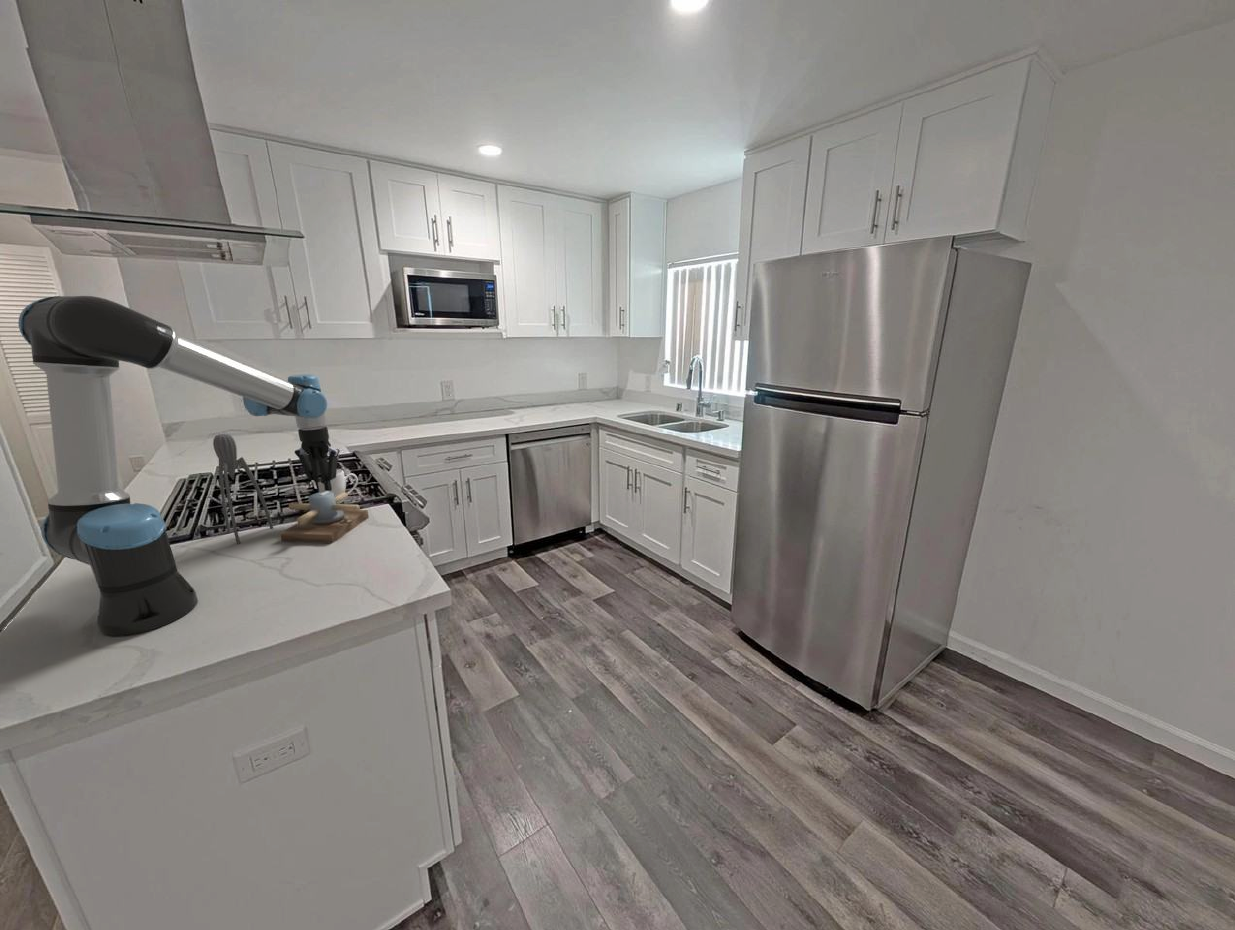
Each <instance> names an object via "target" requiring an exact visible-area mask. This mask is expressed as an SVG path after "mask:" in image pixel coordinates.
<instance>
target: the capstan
mask: <svg viewBox="0 0 1235 930" xmlns="http://www.w3.org/2000/svg"><path fill="white" fill-rule="evenodd" d="M347 493H348V492H346V491H345V492H343V493H341V494H339V495H337V496H336V497H334V493H333V492H329V491H325V492H320V493H319V492H316V493H313V494H311V495H309V496H308V497H307V498H308V502H309V503H304V502H303V503H299V502H298V503H296V502H295V503H294V502H291V503H289V504H288V508H289V510H301V511H302V510H304V511H305V510H306V511H307V510H309V511H307V512H306V513H304V514H302V515H300V516H298V517H297V518H296V523H300V524H301V523H303V522H305V521H307V520H308V519H310V518H311V521H312V523H313V524H318V525H322V524H330V523H334V522H337V521H339V520H341V519H343V518H344V512H343V511H358V510H361V509H360V508H361V507H360V505H359V504H346V503H345V504H344V503H342V504H336V503H337V502H339V501H341V500H342V499H343V500H344V499H346V498H348V495H347Z"/></svg>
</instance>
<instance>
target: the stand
mask: <svg viewBox="0 0 1235 930" xmlns="http://www.w3.org/2000/svg"><path fill="white" fill-rule="evenodd" d="M343 512H344V518H343V519H341V520H339V521H337V522H334V523H330V524H322V525H318V524H313V523H312V521H311V518H310V519H308V520H307V521H305V522H303V523H301V524H300V523H298V522H296V523H295V524H293V525H292V526H290V527H288V528H287V529H285V530H283V531H282V532H280V533H279V536H280V540H281V542H285V543H286V542H287V543H288V542H291V543H293V542H294V543H318V544H319V543H323V544H325V543H327V544H333V543H335V542H336V541H338V540H340V539H341V538H342V537H344V535H346V534H347V533H349V532H350V531H352V530H353V529H354V528H356V527H357V526H359V525H360V524H362V523H363V522H364V521H365V522H366V520H367V519H369V511H368V509H359V510H358V511H343Z"/></svg>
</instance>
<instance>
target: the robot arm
mask: <svg viewBox="0 0 1235 930" xmlns="http://www.w3.org/2000/svg"><path fill="white" fill-rule="evenodd" d="M18 329H19V332H20V334H21V336H22V337H23V339H24V340H25V341H26V342H27V343H28V344H29V345H30V348H31V349H30V350H31V356H32V364H33V365H34V366H36V367H37V368H39V369H40V370H42V371H43V372H44V373H45V376H46V383H47V385H46V386H47V394H48V395H47V396H48V404H49V412H50V415H49V416H50V422H51V423H50V424H51V433H52V443H53V452H54V459H55V460H54V461H55V463H54V464H55V472H56V481H57V493H56V494H54V495H53V496H52V497H51V498H49V499H48V501H47V507H48V515H47V516H45V518H44V520H43V521H42V525H41V531H40V532H41V537H42V540H43V542H44V543H45V544H46V546H48V547H49V548H50V549H51V550H52V551H53V552H55V553H56V554H58V555H59V556H62V557H65V558H66V559H71V560H75V561H78V562H81V563H84V564H86V565H88V566H90V569H91V570H92V573H93V577H94V578H95V582H96V584H97V587H98V589H99V593H100V596H99V605H98V615H97V619H96V623H97V626H98V628H99V629H98V630H99V632H100V633H101V634H102V635H104V636H109V637H123V636H131V635H132V636H133V635H136V634H140V633H144V632H149V631H151V630H152V631H153V630H154V629H157V628H158V629H159V628H160V627H163V626H165V625H168V624H169V623H172V622H174V621H176V620H178V619H180V618H182V617H184V616H185V615H187V614H188V613H190V612H191V611H192V610H194V608H195V607H197V604H198V601H199V600H198V596H197V593H196V589H194V587H192V586H191V585H190V583H189V582H188V581H187V580H186V579H185V578H184V576H183V575H182V574H181V573H180V572H179V570H178V567H177V564H176V559H175V557H174V554H173V550H172V548H171V547H172V546H171V542H170V540H169V536H168V533H167V530H166V523H165V520H164V518H163V517H162V516H161V514H160V511H159V510H158V509H157V508H156V507H154V506H153V505H149V504H146V503H145V504H144V503H137V502H136V503H132V504H131V495H130V494H129V493H128V492H126V491H124V490H123V489H121V488H120V485H119V473H118V462H117V461H118V460H117V449H116V438H115V425H114V414H113V412H114V411H113V402H112V401H113V400H112V392H111V391H112V390H111V389H112V388H111V376H112V375H113V374H114V373H116V372H117V371H119V370H120V361H121V362H125V363H131V364H134V365H137V366H139V367H143V368H146V369H149V370H152V369H153V370H154V369H156V368H161V369H164V370H166V371H169V372H171V373H175V374H178V375H180V376H183V377H186V378H189V379H192V380H195V381H198V382H200V383H203V384H205V385H208V386H212V387H213V388H214V387H215V388H218V389H220V390H223V391H225V392H229V393H231V394H234V395H237V396H239V397H242V401H243V406H244V409H245V410H246V411H247V413H249V414H250V415H251V416H253V417H263V416H264V417H267V416H269V415H279V416H287V417H288V416H289V417H294V418H295V423H296V428H298V430H297V432H298V437H299V441H300V442H301V445H300V448H299V449H296V450H294V454H295V455H296V456H297V458H298V460H299V462H300V463H301V467H302V468H303V471H304V473H305V475H306V477H307V479H308V481H313V482H314V483H315V486H316V491H317V493H319V492H325V491H329V492H330V491H331V490H332V487H331V482H330V481H331V480H332V479H334V478H336V471H337V469H338V468H337V467H338V456H339V454H340V449H339V448H334V447H332V445H331V443H330V442H329V441H330V440H329V439H330V435H329V429H328V427H327V426H326V425H327V419H326V410H327V408H328V400H327V398H326V396H325V394H323V393H322V388H321V384H320V382H319V379H318V377H317V376H316V375H314V374H293V375H289V376H288V377H287V380H285V379H284V378H283V379H282V378H280V377H277V376H276V375H273V374H271V373H268V372H266V371H263V370H261V369H259V368H257V367H254V366H252V365H249V364H247V363H245V362H243V361H240V360H238V359H235V358H233V357H230V356H229V355H226V354H224V353H221V352H218V351H216V350H214V349H212V348H209V347H207V346H204V345H203V344H200V343H197V342H195V341H192V340H190V339H188V338H185V337H183V336H181V335H178V334H176V331H175V330H174V329H173V327H172V326H170V325H167V324H165V323H163V322H160V321H159V320H156V319H155V318H152V317H149V316H148V315H145V314H143V313H141V312H138V311H136V310H134V309H131V308H129V307H127V306H125V305H123V304H120V303H118V302H115V301H112V300H109V299H107V298H102V297H98V296H92V295H76V296H74V295H73V296H70V295H67V296H65V295H63V296H62V295H54V296H48V297H47V296H46V297H43V298H40V299H37V300H36V301H35V300H34V301H33V302H30V303H29V304H28V305H27V306H25V307H24V308H23V310H22V311H21V312H20V314H19V317H18Z"/></svg>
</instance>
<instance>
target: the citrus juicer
mask: <svg viewBox="0 0 1235 930" xmlns="http://www.w3.org/2000/svg"><path fill="white" fill-rule="evenodd" d="M212 442H213V443H212V444H213V450H214V452H215V455H216V457H217V458H218V459H217V460H218V477H219V478H218V480H219V488H220V489H219V490H220V497H221V505H222V510H223V516H224V522H225V526H226V530H227V533H228V534H231V533H232V530H231V525H230V520H229V514H230V519H231V523H232V529H233V533H234V538H235V542H236V545H239V544H241V541H240V535H239V532H238V527H237V523H236V518H235V513H234V512H235V511H234V509H233V502H232V497H231V492H230V491H231V490H230V483H229V476H230V478H231V479H232V480H233V481H234V480H235V474H236V468H238V467H240V466H241V467H242V468H243V470H244V471H245V472H246V474H247V476H248V477H249V479H250V481H251V483H252V485H253V487H254V488H255V491H256V493H257V495H258V498H259V500H260V503H261V505H262V507H263V509H264V513H265V515H266V516H265V517H266V518H267V522H268V526H269V528H270V529H274V525H273V520H272V517H271V513H270V511H269V509H268V506H267V503H266V500H265V498H264V495H263V493H262V490H261V489H260V487H259V484H258V483H257V480H256V478H255V477H254V475H253V472H252V470H251V468H250V467H249V466H248V464H247V462H246V460H245V459H244V457H243V456H241V457H240V458H238V457H237V456H238V449H237V444H236V441H235V439H234V437H233V436H232V435H231V434H228V433H219V434H217V435H215V436H214V438H213V441H212ZM237 458H238V459H237ZM228 475H229V476H228ZM224 483H225V484H224ZM224 485H225V486H224ZM224 487H225V488H224ZM225 490H226V491H225ZM225 492H226V496H225ZM226 497H227V503H228V509H229V514H228V509H227V504H226Z"/></svg>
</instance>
